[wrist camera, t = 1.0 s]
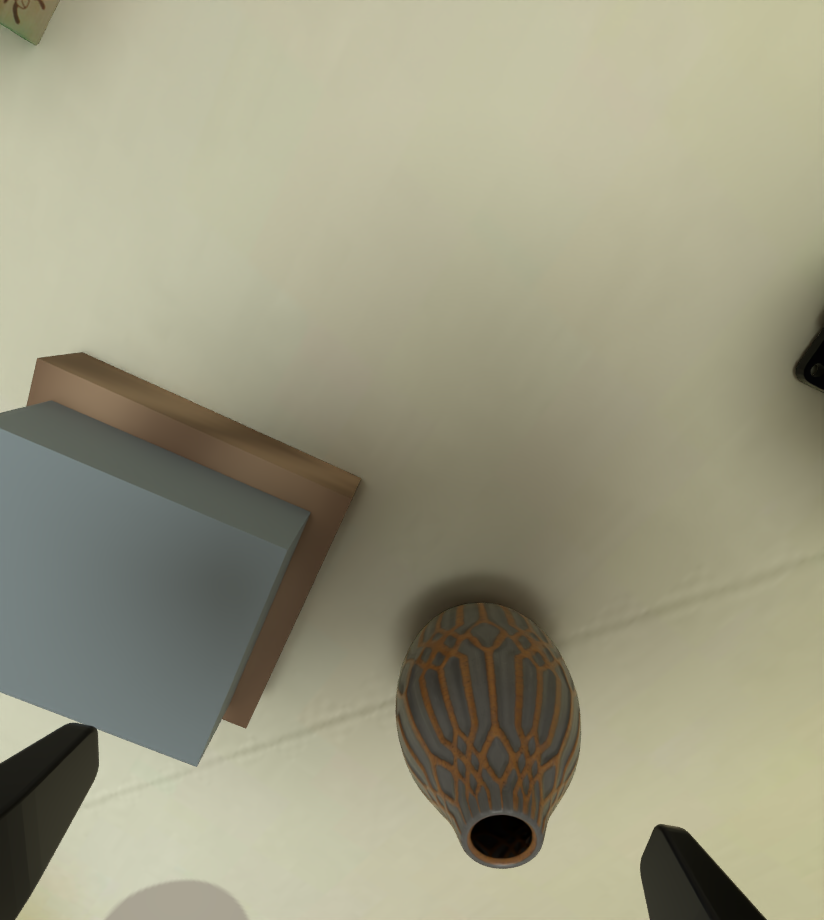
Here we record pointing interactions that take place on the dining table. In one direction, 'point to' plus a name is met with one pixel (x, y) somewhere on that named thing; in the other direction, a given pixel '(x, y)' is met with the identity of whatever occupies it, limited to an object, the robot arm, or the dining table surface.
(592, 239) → the dining table surface
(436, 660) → the vase
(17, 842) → the robot arm
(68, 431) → the tower top
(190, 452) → the tower base
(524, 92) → the dining table surface
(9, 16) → the stack of blocks
